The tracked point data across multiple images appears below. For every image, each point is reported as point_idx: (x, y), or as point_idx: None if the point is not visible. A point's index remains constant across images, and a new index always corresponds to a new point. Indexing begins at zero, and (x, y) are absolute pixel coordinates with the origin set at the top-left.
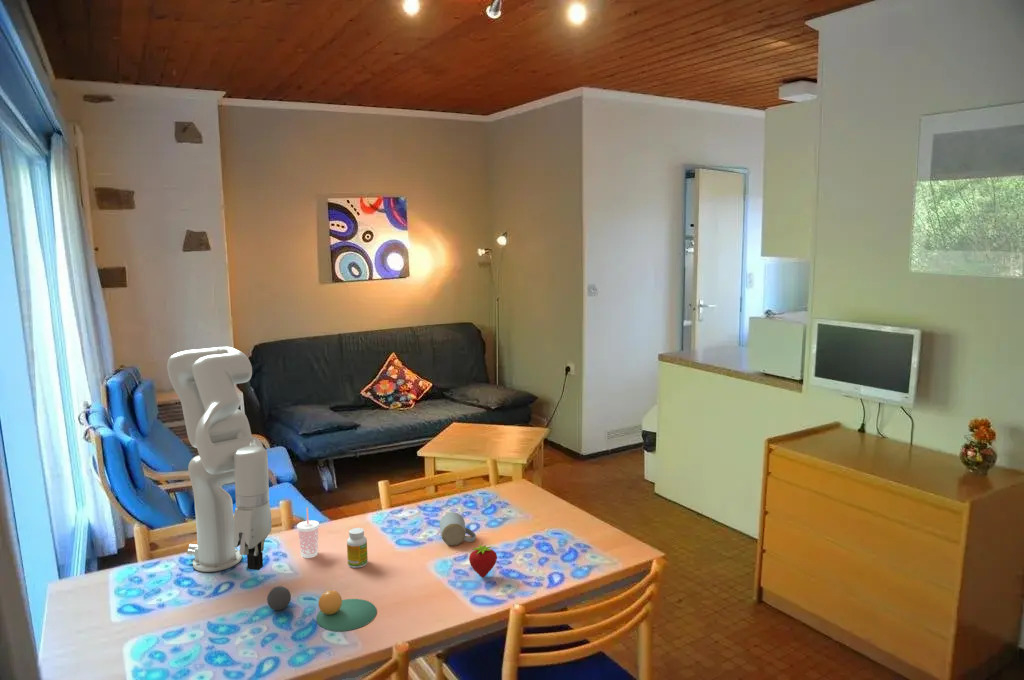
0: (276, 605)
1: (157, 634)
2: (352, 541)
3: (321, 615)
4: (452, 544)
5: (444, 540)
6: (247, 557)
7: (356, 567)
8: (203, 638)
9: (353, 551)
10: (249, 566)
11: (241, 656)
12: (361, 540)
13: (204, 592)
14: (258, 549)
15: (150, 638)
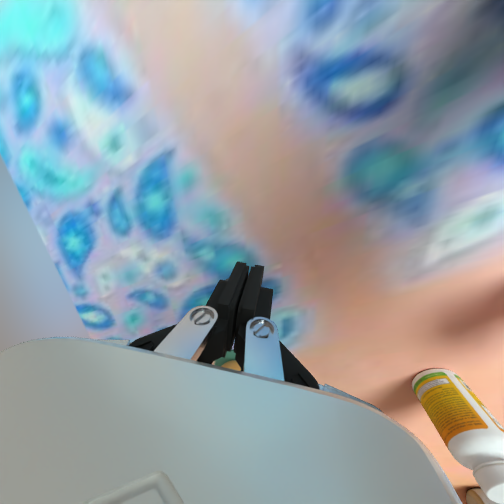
0: None
1: (83, 25)
2: (468, 453)
3: (226, 356)
4: (467, 495)
5: (477, 501)
6: (223, 291)
7: (412, 383)
8: (112, 177)
9: (439, 422)
10: (219, 281)
11: (94, 274)
12: (467, 467)
13: (328, 23)
14: (240, 363)
15: (62, 15)
